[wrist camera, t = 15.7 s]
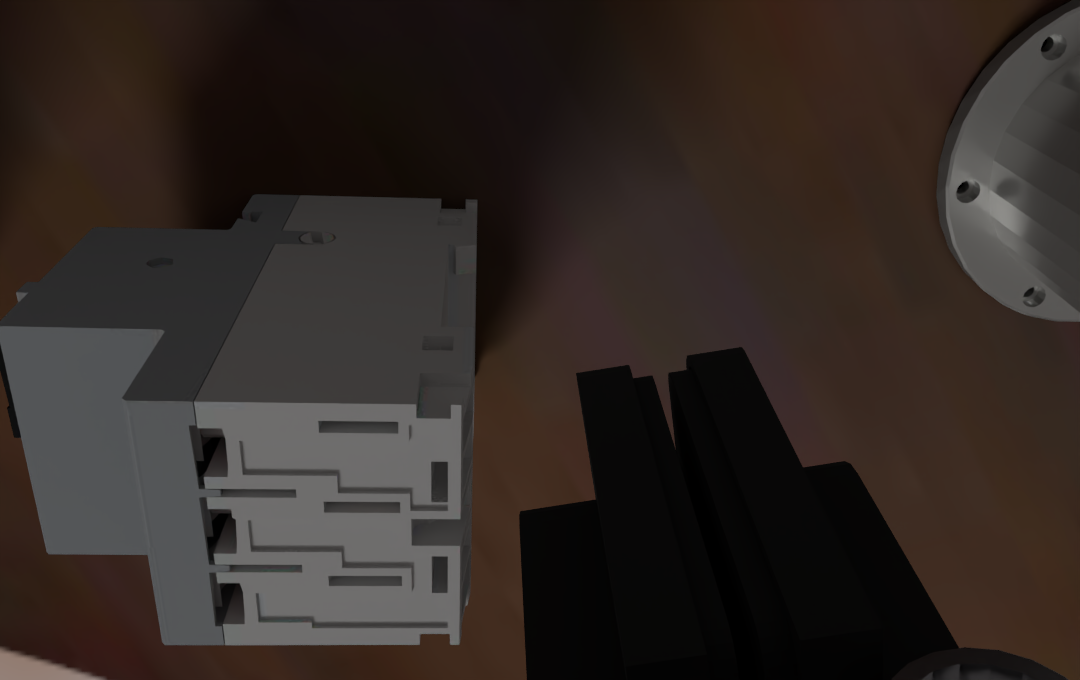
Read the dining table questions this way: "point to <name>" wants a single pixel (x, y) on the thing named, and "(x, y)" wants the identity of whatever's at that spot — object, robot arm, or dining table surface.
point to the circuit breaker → (262, 416)
